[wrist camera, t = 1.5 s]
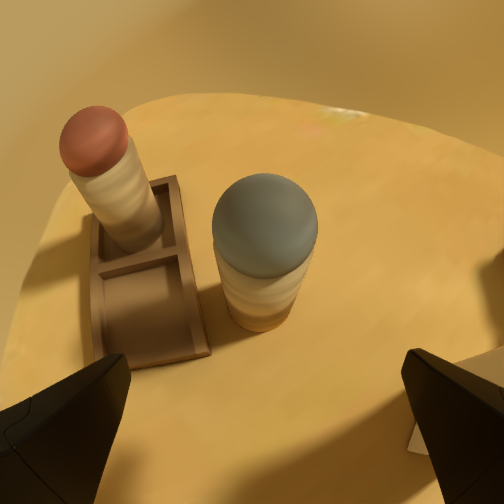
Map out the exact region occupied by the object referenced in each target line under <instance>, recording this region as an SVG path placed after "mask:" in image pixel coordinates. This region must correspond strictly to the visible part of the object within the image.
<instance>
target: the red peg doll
mask: <svg viewBox="0 0 504 504" xmlns="http://www.w3.org/2000/svg"><path fill="white" fill-rule="evenodd" d="M59 149H60V155H61V158H62V160H63V162H64V164H65V166H66V167H67V168H68V169H69V174H70V177H71V179H72V180H73V182H74V184H75V185H76V187H77V188H78V190H79V191H80V193H81V195H82V196H83V198H84V199H85V201H86V202H87V204H88V205H89V207H90V208H91V210H92V211H93V213H94V214H95V216H96V217H97V219H98V220H99V222H100V223H101V224H102V226H103V227H104V229H105V230H106V232H107V233H108V234H109V236H110V237H111V239H112V240H113V241H114V243H115V244H116V245H117V247H118V248H119V249H121V250H123V251H125V252H129V253H137V252H141V251H144V250H146V249H148V248H149V247H151V246H152V245H153V244H155V243H156V241H157V240H158V239H159V238H160V236H161V234H162V232H163V228H164V220H163V217H162V214H161V212H160V210H159V207H158V205H157V202H156V200H155V197H154V195H153V192H152V190H151V187H150V185H149V182H148V179H147V177H146V174H145V172H144V169H143V166H142V164H141V161H140V158H139V155H138V153H137V150H136V147H135V144H134V142H133V139H132V138H131V137H130V136H129V135H128V130H127V126H126V124H125V122H124V120H123V119H122V117H121V116H120V115H119V114H118V113H117V112H115V111H114V110H112V109H110V108H108V107H104V106H91V107H87V108H84V109H82V110H80V111H79V112H77V113H76V114H74V115H73V116H72V117H71V118H70V119H69V120H68V122H67V123H66V125H65V126H64V129H63V130H62V133H61V136H60V142H59Z"/></svg>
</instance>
